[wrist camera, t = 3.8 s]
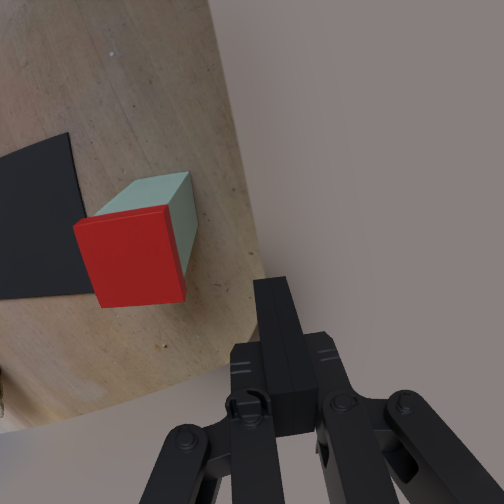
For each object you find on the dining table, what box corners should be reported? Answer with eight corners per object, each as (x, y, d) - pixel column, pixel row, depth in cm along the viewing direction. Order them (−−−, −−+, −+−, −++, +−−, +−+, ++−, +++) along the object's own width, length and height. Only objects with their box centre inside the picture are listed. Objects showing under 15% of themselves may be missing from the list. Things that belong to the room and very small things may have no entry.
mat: (68, 132, 27) (66, 132, 27) (109, 289, 36) (108, 291, 36) (-64, 190, 27) (-66, 191, 27) (-26, 299, 36) (-27, 300, 36)
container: (192, 167, 30) (163, 211, 18) (201, 227, 33) (184, 302, 21) (132, 177, 30) (72, 226, 18) (144, 234, 33) (101, 308, 21)
